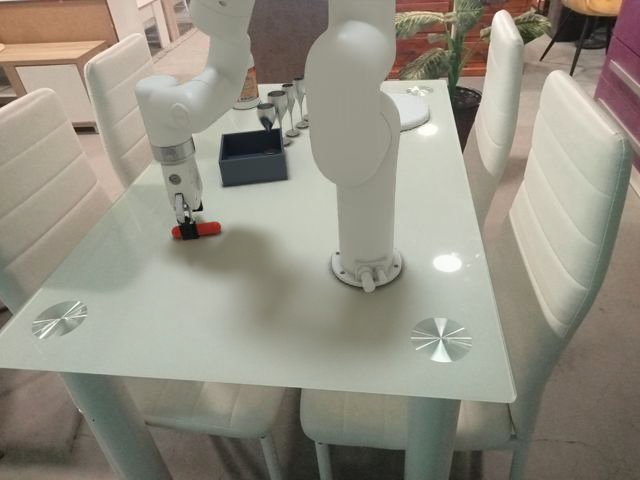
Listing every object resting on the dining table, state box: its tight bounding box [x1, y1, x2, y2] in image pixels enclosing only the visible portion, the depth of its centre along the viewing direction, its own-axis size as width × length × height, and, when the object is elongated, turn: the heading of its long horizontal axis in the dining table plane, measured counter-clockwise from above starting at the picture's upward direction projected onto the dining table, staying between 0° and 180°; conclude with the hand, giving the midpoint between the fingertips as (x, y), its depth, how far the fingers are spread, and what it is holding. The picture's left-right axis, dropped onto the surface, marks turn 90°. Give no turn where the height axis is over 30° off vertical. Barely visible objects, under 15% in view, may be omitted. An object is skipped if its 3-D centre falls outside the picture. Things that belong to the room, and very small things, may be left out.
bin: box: [217, 127, 288, 187], centre depth 117 cm, size 15×15×6 cm
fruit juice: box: [232, 33, 261, 110], centre depth 146 cm, size 9×9×28 cm
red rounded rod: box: [170, 221, 222, 239], centre depth 97 cm, size 10×2×2 cm, turn 96°
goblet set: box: [256, 73, 309, 154], centre depth 129 cm, size 28×6×13 cm, turn 153°
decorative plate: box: [385, 92, 430, 132], centre depth 138 cm, size 25×4×25 cm
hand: (193, 224), depth 97 cm, fingers open, 9 cm apart
